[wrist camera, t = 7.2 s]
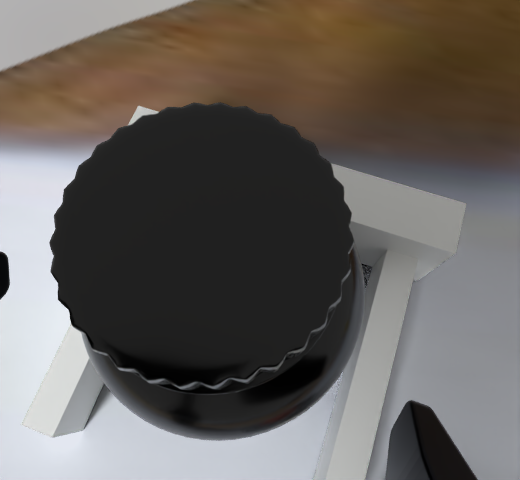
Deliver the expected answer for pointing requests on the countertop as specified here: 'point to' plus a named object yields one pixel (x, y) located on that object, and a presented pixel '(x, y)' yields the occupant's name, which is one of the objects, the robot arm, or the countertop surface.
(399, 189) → the white u-shaped frame
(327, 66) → the countertop surface
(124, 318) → the supplement bottle
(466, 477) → the robot arm
